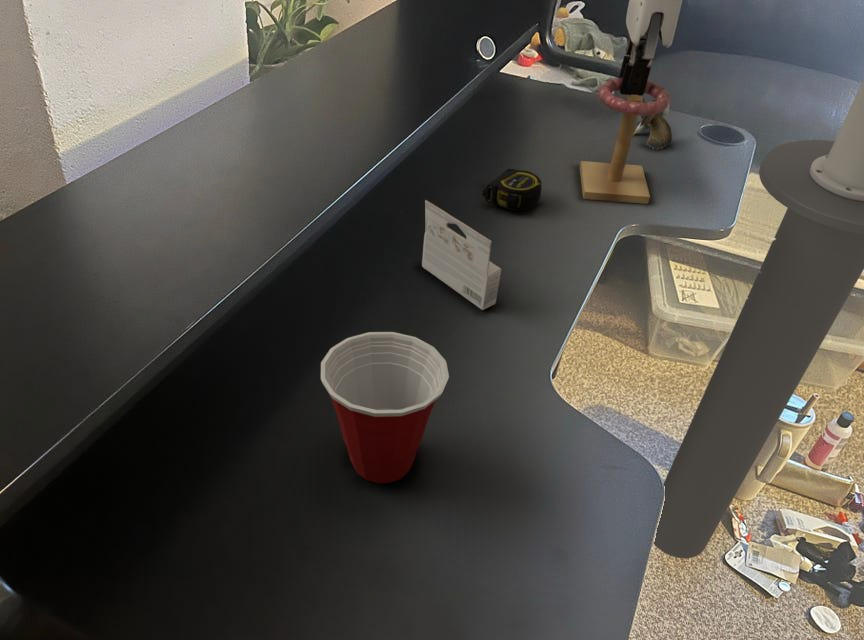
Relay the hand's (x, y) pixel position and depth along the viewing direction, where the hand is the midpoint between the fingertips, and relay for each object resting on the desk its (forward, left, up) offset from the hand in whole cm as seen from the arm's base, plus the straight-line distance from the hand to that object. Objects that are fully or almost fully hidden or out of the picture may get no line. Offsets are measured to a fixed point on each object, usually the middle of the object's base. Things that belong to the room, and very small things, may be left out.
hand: (630, 89), depth 101 cm
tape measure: (+15, +11, -13) cm, 22 cm away
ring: (0, +4, +1) cm, 4 cm away
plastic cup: (+26, +59, -13) cm, 66 cm away
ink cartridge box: (+21, +31, -13) cm, 40 cm away
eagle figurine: (-7, -13, -13) cm, 20 cm away
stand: (0, +4, -13) cm, 13 cm away
